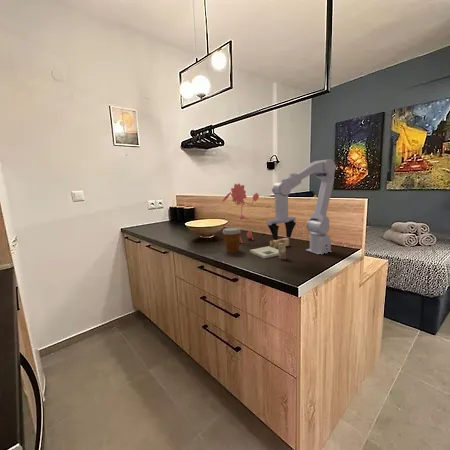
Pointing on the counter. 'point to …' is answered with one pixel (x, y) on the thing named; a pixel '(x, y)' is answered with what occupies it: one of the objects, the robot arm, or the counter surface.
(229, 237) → the disposable coffee cup
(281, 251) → the loose leg
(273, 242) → the hinged leg
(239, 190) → the figurine
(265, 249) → the stool seat
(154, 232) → the counter surface
